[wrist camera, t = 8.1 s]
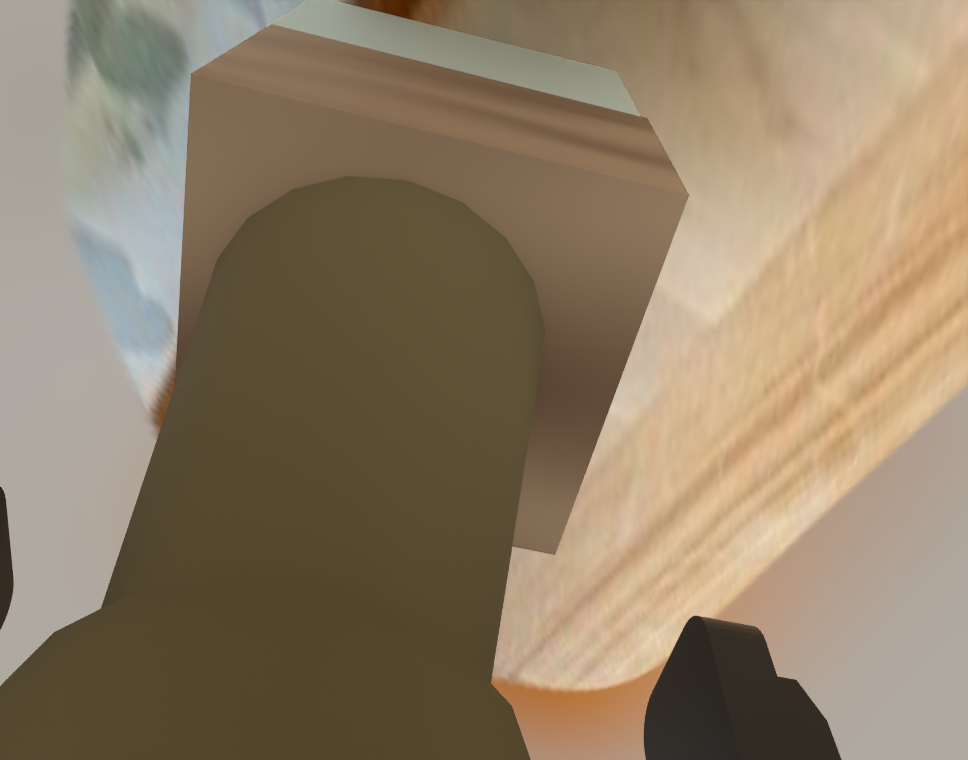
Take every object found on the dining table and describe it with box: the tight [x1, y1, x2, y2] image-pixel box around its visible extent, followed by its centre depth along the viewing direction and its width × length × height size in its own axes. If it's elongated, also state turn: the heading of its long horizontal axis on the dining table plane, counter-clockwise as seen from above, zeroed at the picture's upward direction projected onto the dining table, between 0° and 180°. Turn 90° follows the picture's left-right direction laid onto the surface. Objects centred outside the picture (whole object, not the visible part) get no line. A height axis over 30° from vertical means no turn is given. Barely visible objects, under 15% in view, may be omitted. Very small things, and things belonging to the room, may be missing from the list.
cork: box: [0, 176, 545, 760], centre depth 10 cm, size 6×6×11 cm
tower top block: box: [175, 24, 689, 555], centre depth 17 cm, size 8×8×5 cm
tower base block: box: [265, 0, 640, 116], centre depth 22 cm, size 8×8×5 cm
